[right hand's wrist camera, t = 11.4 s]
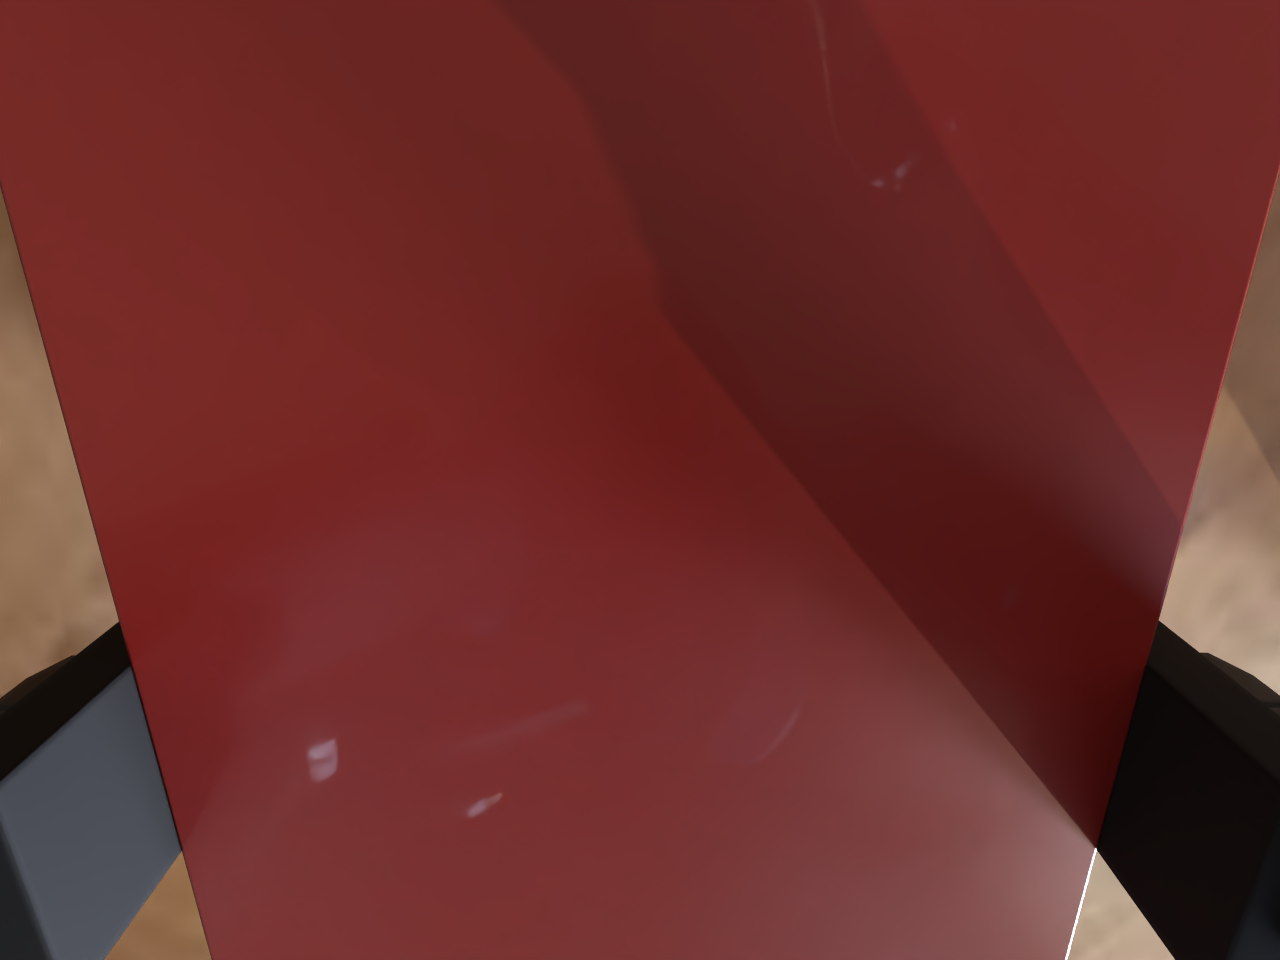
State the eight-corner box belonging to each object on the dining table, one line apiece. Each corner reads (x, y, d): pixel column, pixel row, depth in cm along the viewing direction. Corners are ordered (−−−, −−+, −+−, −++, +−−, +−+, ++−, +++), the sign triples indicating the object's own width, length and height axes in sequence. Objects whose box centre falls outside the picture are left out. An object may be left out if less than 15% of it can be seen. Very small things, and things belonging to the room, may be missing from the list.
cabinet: (366, -140, 16) (-349, -1063, 4) (910, -140, 16) (1618, -1064, 4) (440, 588, 21) (220, 1005, 10) (837, 587, 21) (1058, 1002, 10)
